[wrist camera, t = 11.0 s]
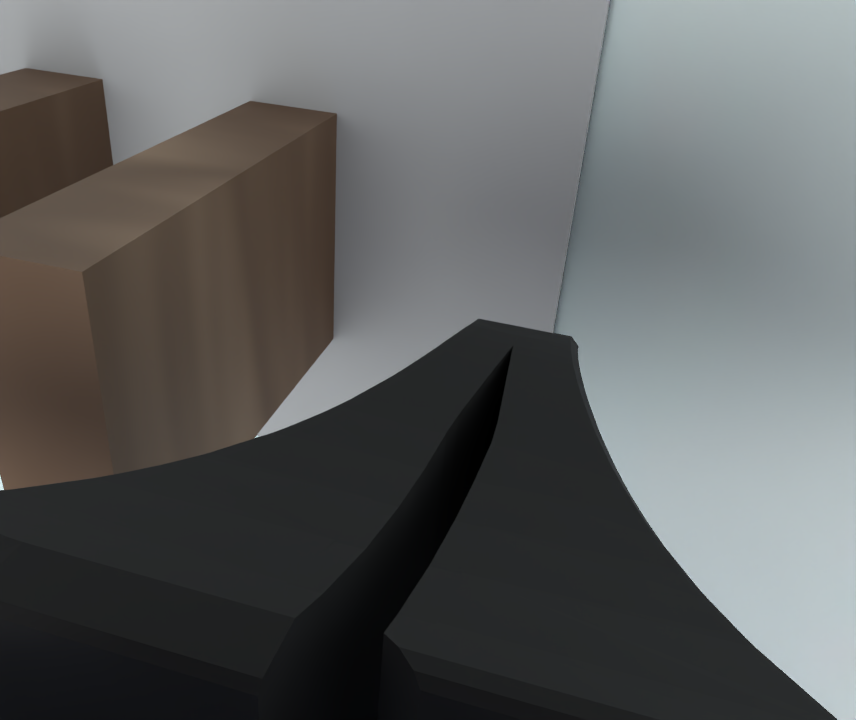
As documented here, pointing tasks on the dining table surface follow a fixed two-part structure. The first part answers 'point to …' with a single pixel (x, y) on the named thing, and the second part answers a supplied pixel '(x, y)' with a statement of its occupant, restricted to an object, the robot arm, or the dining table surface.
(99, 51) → the mat
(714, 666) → the robot arm
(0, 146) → the walnut tile
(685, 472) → the dining table surface
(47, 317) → the walnut tile
